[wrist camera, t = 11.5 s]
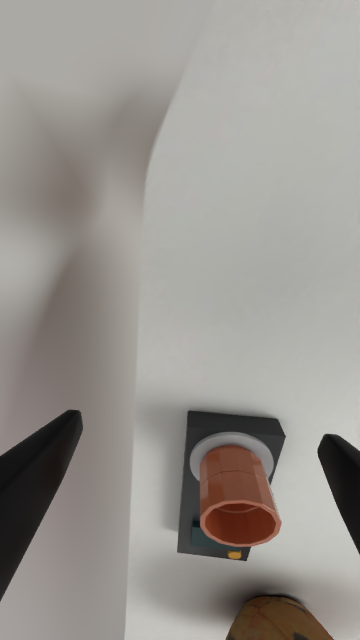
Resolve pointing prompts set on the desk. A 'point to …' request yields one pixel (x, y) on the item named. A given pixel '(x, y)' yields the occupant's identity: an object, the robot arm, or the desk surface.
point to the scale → (201, 439)
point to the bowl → (276, 621)
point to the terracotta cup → (236, 498)
